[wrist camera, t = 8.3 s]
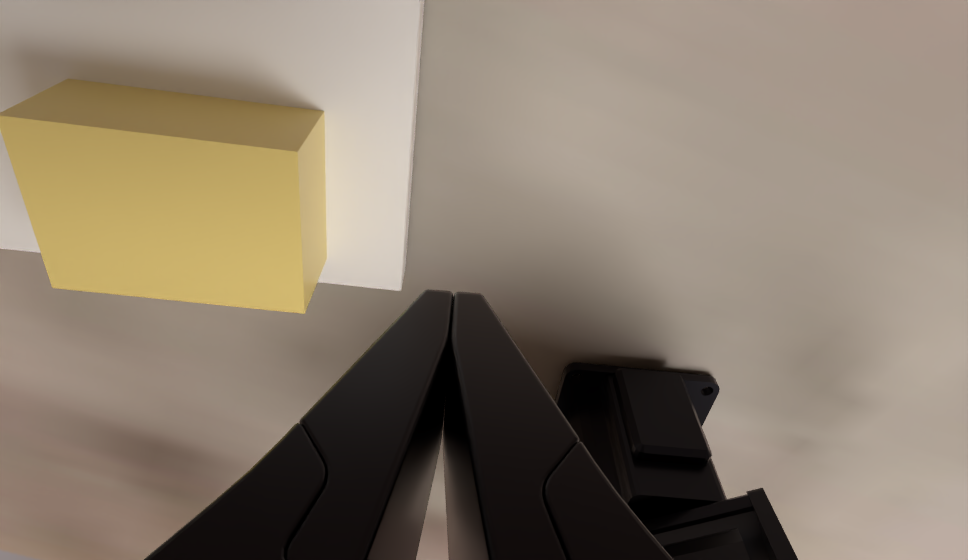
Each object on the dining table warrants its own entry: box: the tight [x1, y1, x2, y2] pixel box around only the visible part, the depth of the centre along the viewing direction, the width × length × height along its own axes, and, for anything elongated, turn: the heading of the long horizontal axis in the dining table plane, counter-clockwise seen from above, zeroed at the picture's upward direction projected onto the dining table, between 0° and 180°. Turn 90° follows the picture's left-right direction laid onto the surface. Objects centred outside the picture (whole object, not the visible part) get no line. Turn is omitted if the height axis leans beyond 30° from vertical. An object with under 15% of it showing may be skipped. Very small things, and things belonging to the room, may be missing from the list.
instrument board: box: [0, 0, 424, 314], centre depth 15 cm, size 14×20×4 cm
